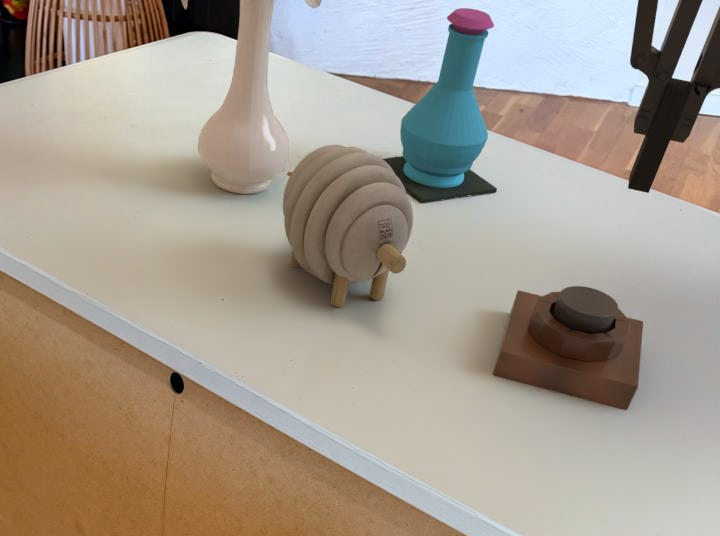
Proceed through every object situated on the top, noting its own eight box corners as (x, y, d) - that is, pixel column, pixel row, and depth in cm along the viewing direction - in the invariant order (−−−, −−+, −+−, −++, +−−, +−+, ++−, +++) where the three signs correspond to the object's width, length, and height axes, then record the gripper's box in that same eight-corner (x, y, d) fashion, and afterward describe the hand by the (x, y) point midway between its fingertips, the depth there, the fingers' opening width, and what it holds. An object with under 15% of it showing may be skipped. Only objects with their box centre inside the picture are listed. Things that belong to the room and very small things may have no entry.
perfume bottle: (383, 154, 102) (415, -5, 91) (462, 158, 104) (503, 2, 93) (402, 190, 97) (438, 25, 85) (485, 194, 98) (532, 32, 87)
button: (611, 314, 77) (620, 294, 75) (608, 342, 74) (616, 322, 72) (554, 300, 77) (562, 280, 76) (548, 327, 74) (556, 307, 73)
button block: (633, 343, 81) (652, 301, 78) (626, 410, 74) (648, 366, 71) (510, 312, 82) (524, 270, 79) (492, 374, 75) (507, 330, 72)
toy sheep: (332, 233, 89) (353, 109, 81) (440, 319, 81) (477, 190, 72) (239, 251, 85) (251, 123, 77) (343, 344, 76) (369, 210, 68)
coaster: (496, 192, 100) (497, 188, 99) (421, 203, 96) (422, 199, 96) (443, 154, 105) (443, 151, 105) (370, 163, 101) (370, 159, 101)
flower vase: (127, 175, 94) (127, -142, 75) (269, 145, 102) (301, -146, 83) (200, 229, 87) (221, -102, 69) (345, 193, 96) (398, -111, 77)
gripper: (935, -253, 51) (728, 184, 69) (696, -287, 53) (555, 146, 71) (960, -243, 46) (731, 224, 64) (695, -280, 48) (545, 183, 66)
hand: (639, 183), depth 67 cm, fingers closed
